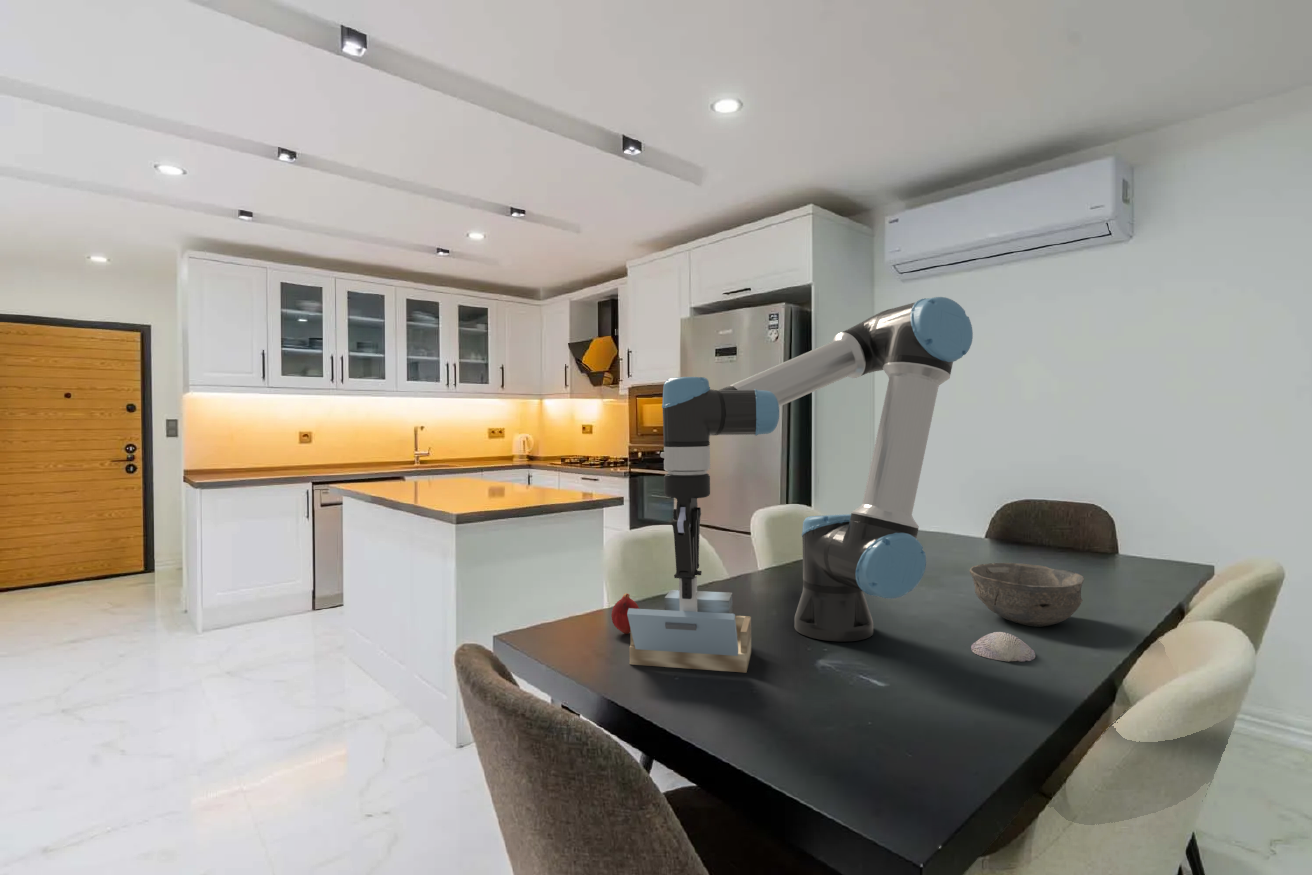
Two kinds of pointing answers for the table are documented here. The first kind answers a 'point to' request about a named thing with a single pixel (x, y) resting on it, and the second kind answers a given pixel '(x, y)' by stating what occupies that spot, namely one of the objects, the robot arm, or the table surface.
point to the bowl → (1028, 592)
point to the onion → (623, 613)
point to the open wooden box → (705, 603)
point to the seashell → (1003, 648)
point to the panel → (684, 631)
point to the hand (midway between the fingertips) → (688, 616)
